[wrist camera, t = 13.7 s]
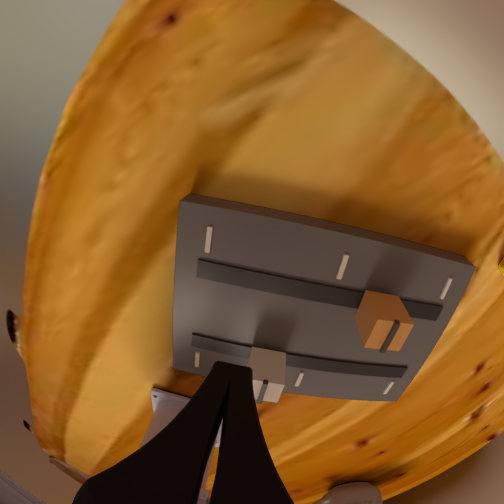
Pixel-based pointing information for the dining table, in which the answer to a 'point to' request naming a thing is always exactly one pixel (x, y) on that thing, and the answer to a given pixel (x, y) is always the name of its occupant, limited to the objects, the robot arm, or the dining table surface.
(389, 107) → the dining table surface
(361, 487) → the teacup
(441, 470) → the dining table surface
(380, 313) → the fader orange
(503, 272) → the watch
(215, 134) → the dining table surface
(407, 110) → the dining table surface
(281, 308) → the fader panel
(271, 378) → the fader ivory
